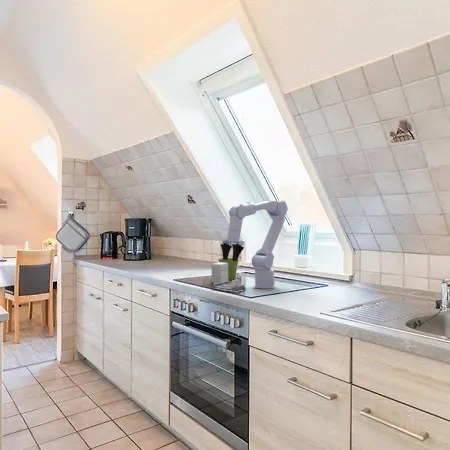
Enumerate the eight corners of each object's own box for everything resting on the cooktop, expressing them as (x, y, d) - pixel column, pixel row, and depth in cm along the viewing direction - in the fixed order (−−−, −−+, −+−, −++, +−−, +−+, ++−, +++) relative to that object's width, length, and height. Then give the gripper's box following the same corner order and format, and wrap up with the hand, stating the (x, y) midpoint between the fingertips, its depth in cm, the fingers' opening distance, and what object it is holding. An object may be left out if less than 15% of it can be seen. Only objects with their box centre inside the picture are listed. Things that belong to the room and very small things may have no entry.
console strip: (245, 290, 196) (245, 284, 196) (235, 292, 190) (235, 287, 190) (222, 287, 205) (222, 281, 205) (211, 289, 198) (211, 284, 198)
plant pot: (243, 278, 231) (243, 258, 231) (232, 281, 222) (231, 260, 221) (225, 276, 238) (225, 257, 238) (213, 279, 228) (213, 259, 228)
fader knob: (239, 287, 195) (239, 279, 195) (235, 288, 193) (235, 280, 193) (235, 286, 196) (235, 278, 196) (231, 287, 194) (231, 279, 194)
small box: (219, 281, 221) (219, 262, 221) (228, 282, 218) (228, 262, 218) (211, 284, 214) (211, 263, 214) (220, 284, 212) (220, 264, 211)
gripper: (218, 229, 196) (213, 257, 195) (237, 229, 184) (232, 260, 183) (230, 232, 200) (225, 260, 199) (249, 232, 188) (244, 262, 187)
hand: (229, 260), depth 191 cm, fingers open, 7 cm apart
